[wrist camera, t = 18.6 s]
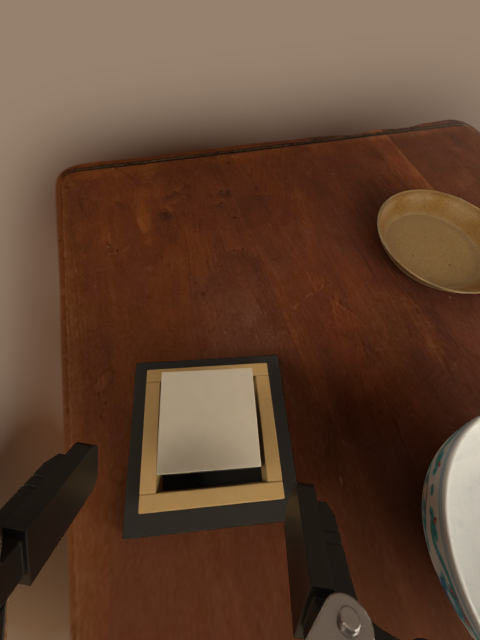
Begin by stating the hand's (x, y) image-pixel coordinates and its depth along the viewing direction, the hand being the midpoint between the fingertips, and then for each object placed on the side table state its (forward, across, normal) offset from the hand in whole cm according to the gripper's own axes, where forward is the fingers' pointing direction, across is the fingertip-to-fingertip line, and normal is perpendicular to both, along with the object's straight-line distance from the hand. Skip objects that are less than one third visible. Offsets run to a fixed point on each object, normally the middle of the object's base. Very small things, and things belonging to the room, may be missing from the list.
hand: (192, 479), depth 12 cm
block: (+9, 0, +5) cm, 11 cm away
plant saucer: (+27, -21, -11) cm, 36 cm away
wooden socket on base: (+10, 0, +6) cm, 12 cm away
